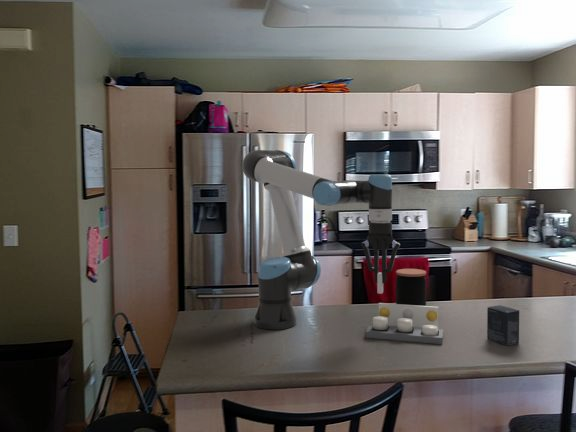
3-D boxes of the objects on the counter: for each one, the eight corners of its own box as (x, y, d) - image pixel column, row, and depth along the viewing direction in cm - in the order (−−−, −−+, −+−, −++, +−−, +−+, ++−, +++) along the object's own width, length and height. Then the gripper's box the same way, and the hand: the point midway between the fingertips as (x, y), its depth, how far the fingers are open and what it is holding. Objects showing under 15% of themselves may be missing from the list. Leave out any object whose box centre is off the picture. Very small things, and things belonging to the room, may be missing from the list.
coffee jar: (423, 316, 193) (423, 268, 192) (428, 324, 183) (428, 274, 181) (394, 315, 194) (394, 268, 193) (397, 324, 184) (397, 274, 182)
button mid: (396, 331, 168) (396, 321, 168) (398, 327, 173) (398, 317, 172) (411, 332, 167) (411, 322, 166) (412, 328, 171) (413, 318, 171)
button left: (371, 329, 171) (371, 319, 170) (374, 325, 175) (374, 315, 175) (386, 330, 169) (386, 320, 169) (388, 326, 174) (388, 316, 173)
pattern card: (378, 326, 182) (378, 303, 181) (379, 325, 183) (379, 302, 182) (437, 330, 175) (438, 307, 174) (438, 329, 176) (438, 306, 176)
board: (365, 337, 169) (365, 331, 169) (370, 329, 178) (370, 323, 178) (442, 344, 162) (442, 337, 162) (443, 335, 170) (443, 329, 170)
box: (519, 343, 162) (520, 310, 161) (506, 346, 159) (506, 312, 158) (499, 336, 169) (499, 304, 168) (486, 339, 166) (486, 306, 165)
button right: (421, 338, 166) (421, 328, 165) (422, 333, 170) (422, 324, 170) (437, 339, 164) (437, 329, 164) (438, 335, 169) (438, 325, 168)
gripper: (358, 222, 168) (358, 293, 170) (399, 223, 164) (398, 296, 166) (362, 220, 175) (362, 289, 177) (401, 220, 171) (401, 291, 173)
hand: (380, 292), depth 171 cm, fingers closed
